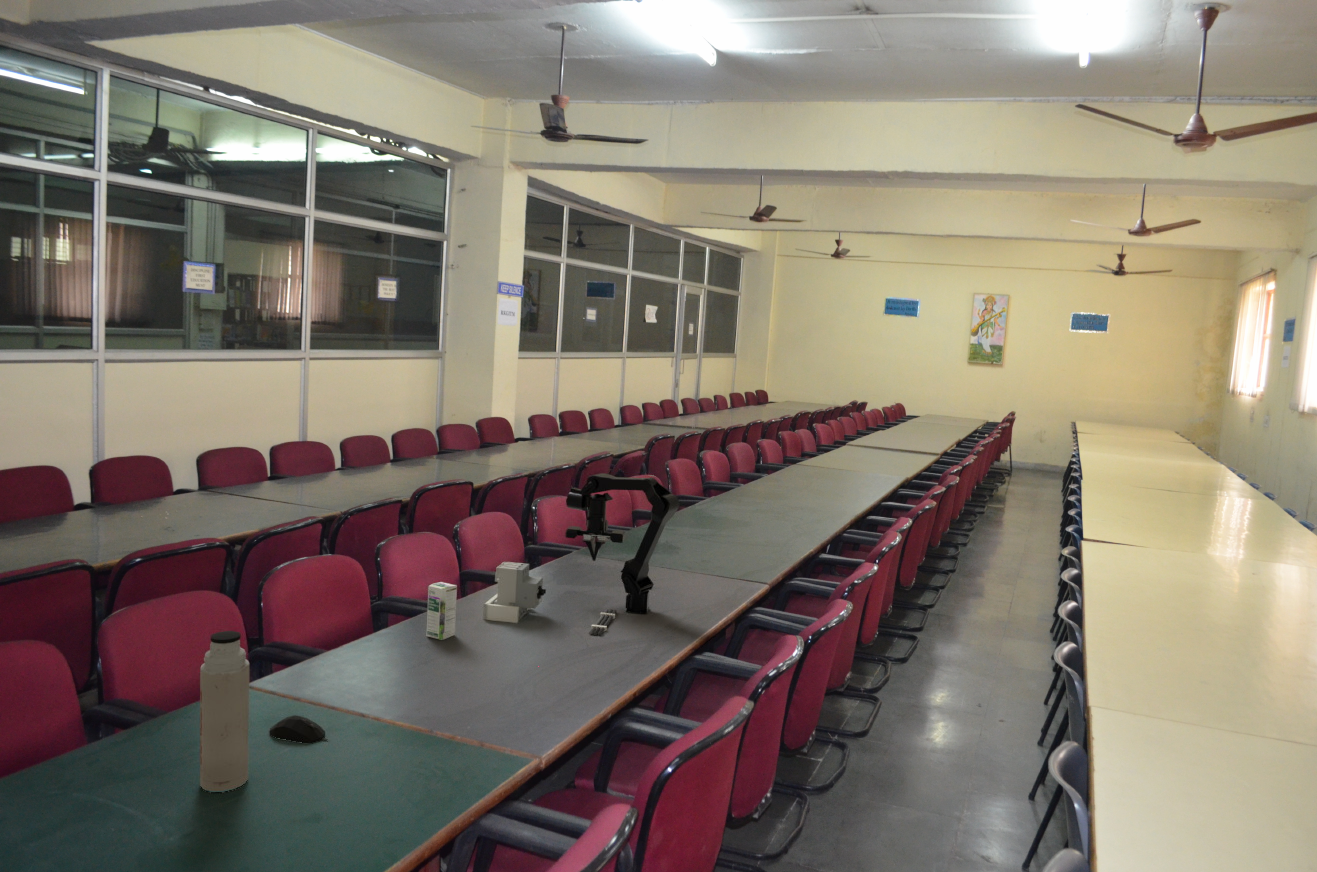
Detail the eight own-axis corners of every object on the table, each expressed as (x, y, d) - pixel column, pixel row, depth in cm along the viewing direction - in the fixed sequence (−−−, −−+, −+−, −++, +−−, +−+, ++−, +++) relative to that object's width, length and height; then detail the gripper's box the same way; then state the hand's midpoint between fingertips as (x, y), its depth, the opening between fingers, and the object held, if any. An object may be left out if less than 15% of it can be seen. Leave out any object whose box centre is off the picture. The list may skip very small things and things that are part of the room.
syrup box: (425, 636, 246) (427, 585, 245) (440, 630, 252) (441, 580, 250) (441, 640, 244) (443, 588, 242) (455, 634, 249) (457, 584, 247)
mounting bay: (531, 608, 276) (532, 594, 276) (516, 622, 262) (517, 607, 262) (499, 605, 278) (499, 591, 277) (483, 619, 264) (483, 604, 263)
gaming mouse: (324, 750, 179) (324, 731, 178) (262, 737, 183) (262, 718, 182) (344, 737, 185) (344, 719, 184) (283, 724, 189) (283, 706, 189)
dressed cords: (618, 612, 277) (618, 609, 277) (602, 636, 255) (602, 632, 255) (604, 611, 278) (604, 607, 278) (587, 634, 256) (587, 630, 256)
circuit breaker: (540, 621, 265) (542, 571, 263) (493, 616, 267) (495, 567, 265) (546, 613, 272) (548, 565, 271) (501, 609, 274) (503, 561, 272)
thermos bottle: (192, 792, 160) (192, 641, 157) (210, 770, 168) (211, 626, 164) (238, 793, 160) (239, 642, 157) (254, 771, 168) (256, 627, 165)
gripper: (630, 510, 292) (627, 557, 294) (574, 505, 295) (572, 552, 297) (623, 517, 281) (620, 565, 283) (566, 512, 284) (563, 560, 286)
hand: (594, 560), depth 288 cm, fingers closed
